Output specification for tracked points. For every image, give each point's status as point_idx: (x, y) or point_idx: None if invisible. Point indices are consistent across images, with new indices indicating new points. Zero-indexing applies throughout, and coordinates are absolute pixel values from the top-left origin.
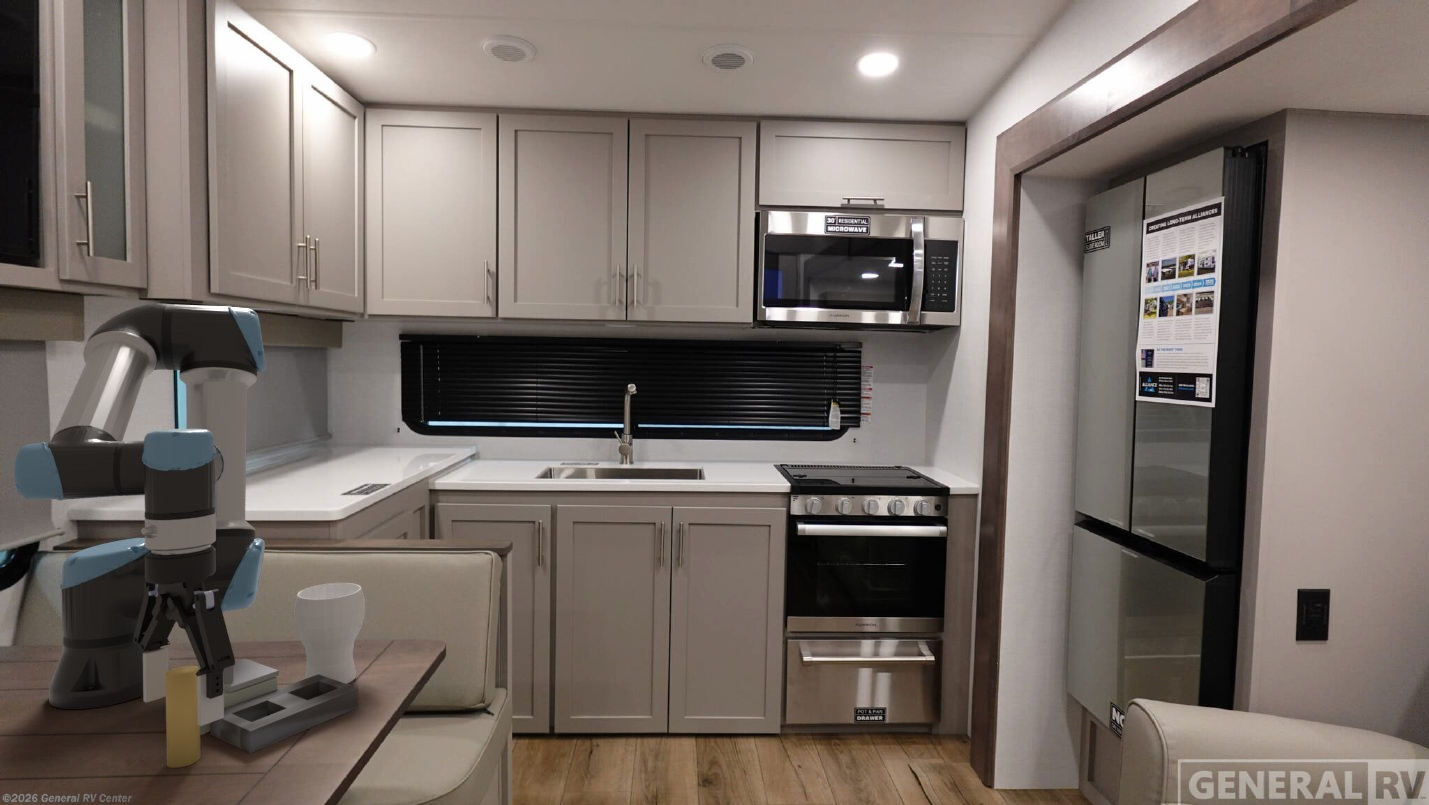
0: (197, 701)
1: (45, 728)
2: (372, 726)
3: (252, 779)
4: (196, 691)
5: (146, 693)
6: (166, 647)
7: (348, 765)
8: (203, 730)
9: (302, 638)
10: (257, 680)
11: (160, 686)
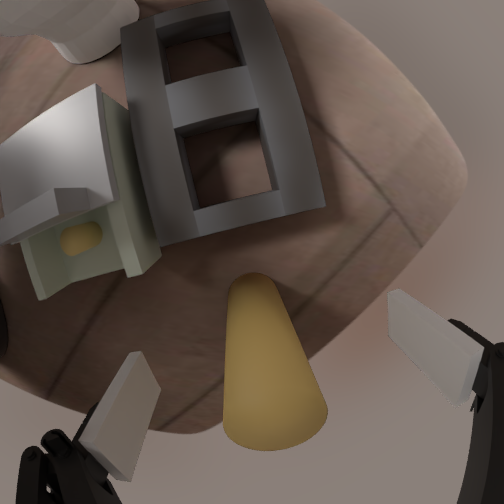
0: (416, 364)
1: (39, 380)
2: (349, 36)
3: (396, 231)
4: (300, 352)
5: (155, 403)
6: (83, 442)
7: (439, 125)
8: (157, 249)
9: (44, 20)
10: (104, 133)
11: (141, 384)
